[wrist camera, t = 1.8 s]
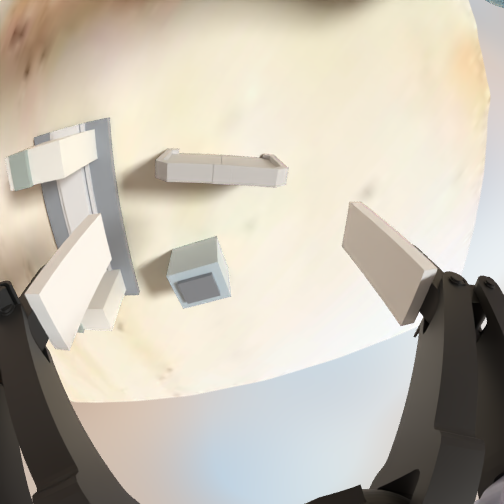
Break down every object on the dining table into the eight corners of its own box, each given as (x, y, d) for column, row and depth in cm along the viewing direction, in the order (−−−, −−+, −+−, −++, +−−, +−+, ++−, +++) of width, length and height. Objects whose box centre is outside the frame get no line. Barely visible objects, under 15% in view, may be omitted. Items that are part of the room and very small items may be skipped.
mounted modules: (44, 141, 23) (1, 158, 16) (94, 128, 24) (56, 140, 17) (82, 290, 34) (62, 331, 27) (126, 290, 35) (111, 334, 28)
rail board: (37, 136, 23) (30, 138, 22) (109, 117, 24) (104, 118, 23) (77, 292, 35) (73, 298, 34) (139, 291, 36) (137, 298, 35)
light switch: (167, 148, 27) (152, 162, 21) (274, 154, 29) (292, 170, 23) (167, 163, 28) (152, 182, 22) (272, 168, 30) (289, 189, 24)
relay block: (172, 249, 34) (165, 279, 28) (216, 235, 34) (217, 265, 28) (186, 279, 36) (183, 312, 31) (228, 267, 36) (231, 299, 31)
